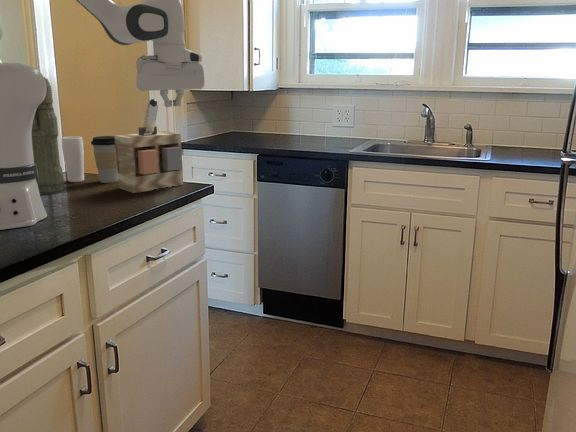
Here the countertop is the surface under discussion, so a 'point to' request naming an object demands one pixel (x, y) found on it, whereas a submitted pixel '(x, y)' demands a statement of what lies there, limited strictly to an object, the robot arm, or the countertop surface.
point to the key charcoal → (171, 158)
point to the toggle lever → (150, 116)
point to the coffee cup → (105, 158)
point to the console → (129, 167)
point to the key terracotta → (147, 161)
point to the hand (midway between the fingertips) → (172, 106)
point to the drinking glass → (73, 157)
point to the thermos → (47, 146)
